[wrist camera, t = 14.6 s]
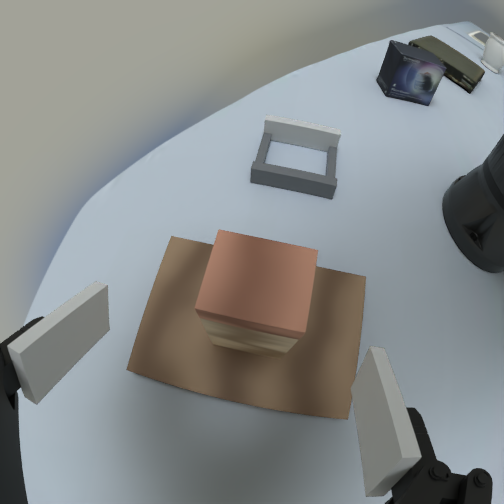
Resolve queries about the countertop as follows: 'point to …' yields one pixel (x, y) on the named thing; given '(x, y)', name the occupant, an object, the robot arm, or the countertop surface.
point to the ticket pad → (256, 294)
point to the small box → (410, 73)
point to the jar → (494, 53)
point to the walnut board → (243, 363)
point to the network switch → (452, 62)
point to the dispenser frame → (300, 136)
